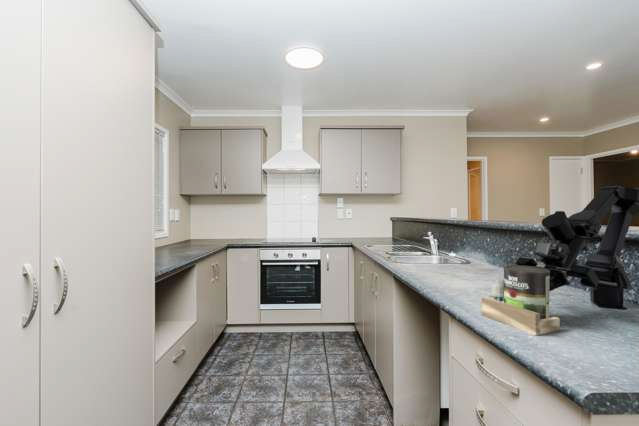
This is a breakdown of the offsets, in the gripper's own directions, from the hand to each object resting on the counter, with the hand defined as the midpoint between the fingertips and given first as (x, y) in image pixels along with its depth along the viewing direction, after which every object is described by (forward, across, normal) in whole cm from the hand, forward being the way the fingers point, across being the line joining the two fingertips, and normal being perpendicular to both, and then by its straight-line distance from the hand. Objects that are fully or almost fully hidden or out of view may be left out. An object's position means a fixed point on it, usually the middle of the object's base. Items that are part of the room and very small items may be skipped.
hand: (539, 293), depth 81 cm
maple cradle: (+11, 0, -1) cm, 11 cm away
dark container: (+8, 0, +1) cm, 8 cm away
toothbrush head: (-2, -20, +12) cm, 24 cm away
